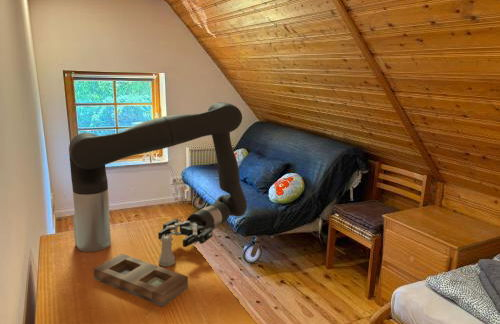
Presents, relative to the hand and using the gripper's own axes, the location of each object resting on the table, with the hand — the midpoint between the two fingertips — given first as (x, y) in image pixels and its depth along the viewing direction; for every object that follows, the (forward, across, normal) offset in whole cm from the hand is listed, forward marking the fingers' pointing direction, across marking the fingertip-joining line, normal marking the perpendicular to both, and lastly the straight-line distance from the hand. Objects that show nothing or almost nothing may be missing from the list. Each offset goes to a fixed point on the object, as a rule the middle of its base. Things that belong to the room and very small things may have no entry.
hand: (171, 239), depth 100 cm
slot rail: (+13, +1, +6) cm, 14 cm away
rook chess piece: (+2, 0, +6) cm, 7 cm away
